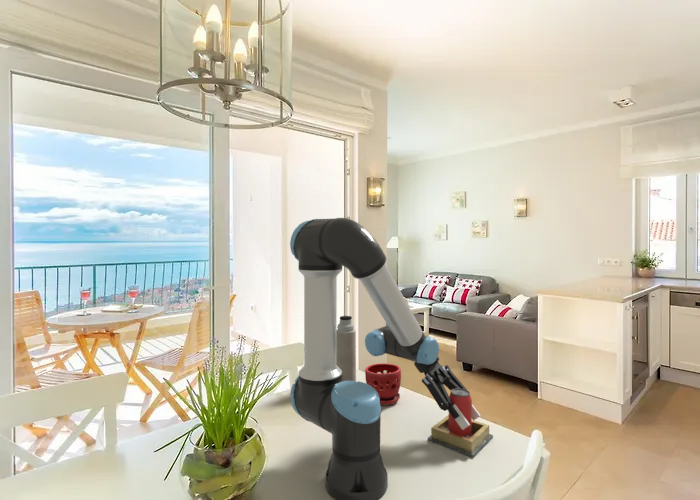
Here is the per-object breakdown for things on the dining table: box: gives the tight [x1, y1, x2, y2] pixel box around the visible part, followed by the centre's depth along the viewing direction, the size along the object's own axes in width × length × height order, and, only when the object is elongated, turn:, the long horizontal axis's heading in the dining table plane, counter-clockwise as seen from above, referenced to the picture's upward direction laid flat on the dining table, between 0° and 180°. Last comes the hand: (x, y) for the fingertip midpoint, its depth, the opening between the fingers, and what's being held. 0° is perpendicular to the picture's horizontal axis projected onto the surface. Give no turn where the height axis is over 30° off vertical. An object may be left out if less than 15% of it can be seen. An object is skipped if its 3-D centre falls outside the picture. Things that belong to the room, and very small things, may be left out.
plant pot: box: [364, 362, 402, 406], centre depth 144 cm, size 13×13×12 cm
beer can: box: [448, 388, 473, 436], centre depth 115 cm, size 7×7×12 cm
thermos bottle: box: [336, 315, 357, 382], centre depth 158 cm, size 8×8×28 cm
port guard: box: [427, 414, 494, 459], centre depth 115 cm, size 14×14×4 cm
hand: (471, 422), depth 113 cm, fingers open, 7 cm apart
